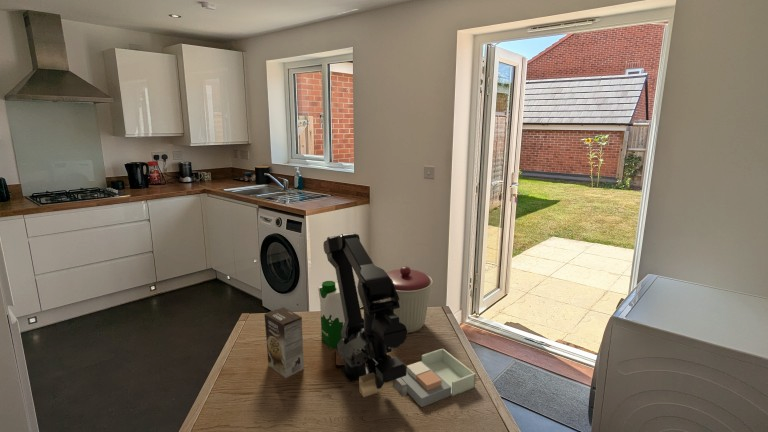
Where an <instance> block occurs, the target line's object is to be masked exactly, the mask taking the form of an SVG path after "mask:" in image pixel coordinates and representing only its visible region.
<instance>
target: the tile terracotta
mask: <svg viewBox="0 0 768 432" xmlns="http://www.w3.org/2000/svg"><path fill="white" fill-rule="evenodd" d="M417 382H418V383H419V384H420V385H421V386H422V387H423V388H425V389H426V390H427V391H428V390H430V389H433V388H435V387H438V386H441V384H442V380H441V379H440V378H439V377H438V376H437V375H435V374H434V373H433V372H432V371H429V372H426V373H423V374H421V375H418V376H417Z"/></svg>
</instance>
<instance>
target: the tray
mask: <svg viewBox="0 0 768 432" xmlns="http://www.w3.org/2000/svg"><path fill="white" fill-rule="evenodd" d="M421 361H423V362H424V363H425V364H426V365H427V366H428V367H429V368H430V369H432V370H433V371H434V372H435V373H436V374H437V375H438V376H439V377H441V378H442V379H443V380H444V381H445V382H446V383H447V384H449V385H450V386H451V397H454V396H457V395H460V394H463V393H464V392H467V391H469V390H472V389H475V388H476V373H475V372H474V371H472V370H471V369H470V368H469V367H468V366H466V365H465V364H464V363H462V362H461V361H460V360H459V359H457V358H456V357H454V356H453V354H451V353H450V352H448V351H447V350H446V349H444V348H440V349H437V350H433V351H430V352H427V353H423V354H422V355H421Z"/></svg>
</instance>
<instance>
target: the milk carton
mask: <svg viewBox="0 0 768 432" xmlns="http://www.w3.org/2000/svg"><path fill="white" fill-rule="evenodd" d="M317 289H318V295H319V296H318V297H319V305H320V326H321V327H320V328H321V329H320V330H321V331H320V332H321V334H320V335H321V340H322V342H324V343H325V345H326V346H328V348H330V349H331V350H333V349H336V348H337V344H338V342H339V341H340V340H341V339H342V337H341V331H342V328H343V325H344V322H345V319H344V313H343V308H342V302H341V297H340V292H339V286H338V281H337V282H335V281H333V280H326V281H322V283H321V285H320V286H318V287H317ZM337 349H338V348H337Z"/></svg>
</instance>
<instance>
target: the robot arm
mask: <svg viewBox="0 0 768 432" xmlns="http://www.w3.org/2000/svg"><path fill="white" fill-rule="evenodd" d="M323 252H324V254H326V257H327V261H328V262H329V263H330V264H331V266H333V268H334V270H335V275H336V280H337V282H338V286H339V292H340V297H341V302H342V308H343V313H344V319H345V322H344V325H343V328H342V331H341V337H342V339H341V340H340V341H339V342H338V344H337V353H338V354H339V356H340V357H341V359H342V361H344V366H342V367H341V368H340V372H341V373H342V374H343V375H344V377H345V378H346V379H347V381H348V382H354V381H357V380H359V377H360V376H364V375H367V374H370V373H374V374H375V381H376V387H377V389H380V388H382V386H383V384H384V382H386V383H387V382H389V381H392V380H395V379H398V378H401V377H404V376H406V375H407V366H408V365H406V364H405V363H404V362H403V361H402V360H401V359H400V358H399V357H397V356H392V355H390V354H389V353H392V351H393V349H394V348H395V349H396V348H399V347H400V346H401V345H403V344H404V343H405V341H406V339H407V337H408V332H407V329H406V326H405V325H404V324H403V323H402V322H401V321H400V320H399V317H398V316H397V315H396V314H394V309H397V308H400V305H399V302H398V301H399V297H398V294H397V291H396V288H395V286H394V283H393V281H392V279H391V278H390V277H389V276H388V274H387V272H386V271H385V270H384V269H383V268H382V267H379V266H376V265H375V264H374V262H373V259H372V258H371V257H370V255H369V254H368V252H367V250H366V248H365V247H364V245H363V244H362V241H361V238H360V235H359V234H358V232H349V233H347V232H346V233H341V234H339V235H334V236H328V237H327V238H326V240H324V241H323ZM354 273H355V274H354ZM355 275H356V276H357V279H358V280H357V281H358V282H357V286H356V281H355ZM388 298H391V301H386V302H382V300H383V299H388ZM359 299H360V301H361V304H362V306H363V316H362V311H361V307H360V301H359Z"/></svg>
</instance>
